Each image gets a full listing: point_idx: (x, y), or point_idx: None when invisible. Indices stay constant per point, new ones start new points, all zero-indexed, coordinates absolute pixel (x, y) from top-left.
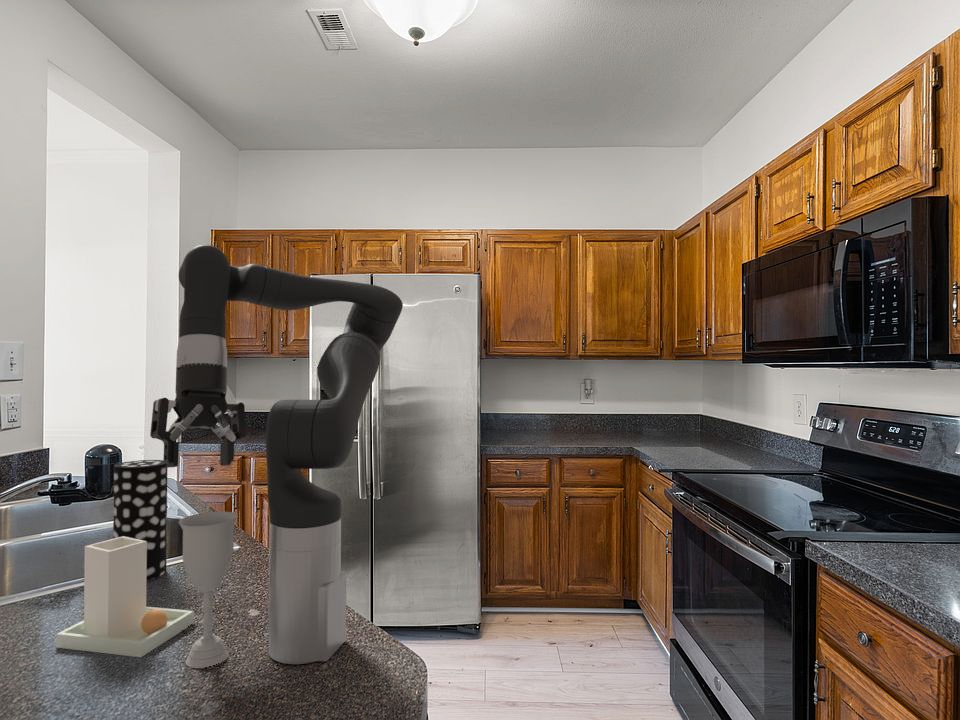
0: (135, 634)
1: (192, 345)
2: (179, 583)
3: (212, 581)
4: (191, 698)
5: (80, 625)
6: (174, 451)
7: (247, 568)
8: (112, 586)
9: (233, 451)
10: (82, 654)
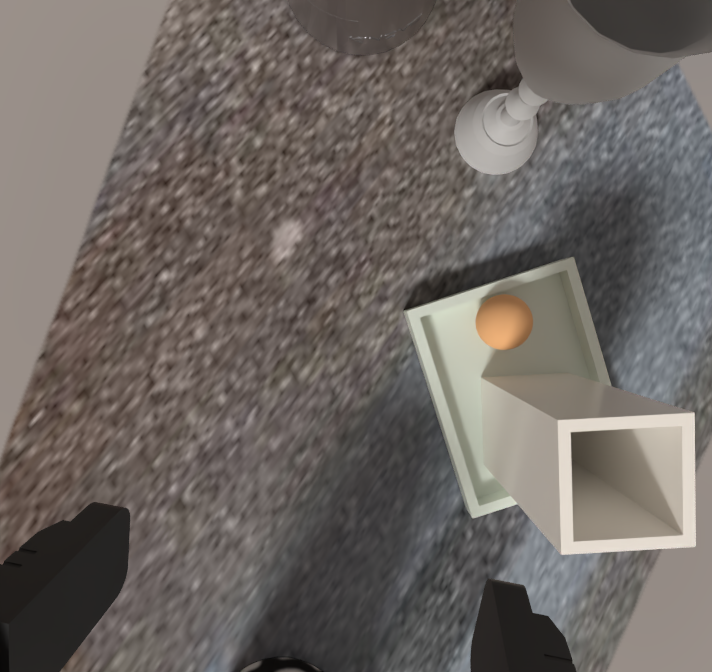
0: (519, 352)
1: None
2: (262, 572)
3: (586, 8)
4: None
5: None
6: (541, 662)
7: None
8: (618, 392)
9: (2, 568)
10: None
